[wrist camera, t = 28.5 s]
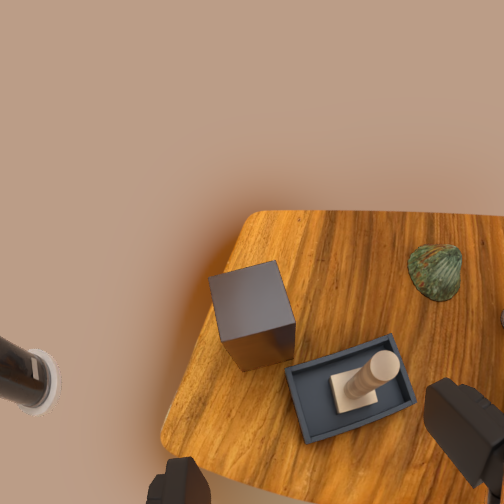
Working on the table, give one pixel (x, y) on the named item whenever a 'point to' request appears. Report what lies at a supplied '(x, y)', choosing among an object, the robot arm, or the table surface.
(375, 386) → the wooden peg on base
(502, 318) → the cup
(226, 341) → the stand
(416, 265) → the seashell
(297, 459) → the table surface
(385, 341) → the tray
